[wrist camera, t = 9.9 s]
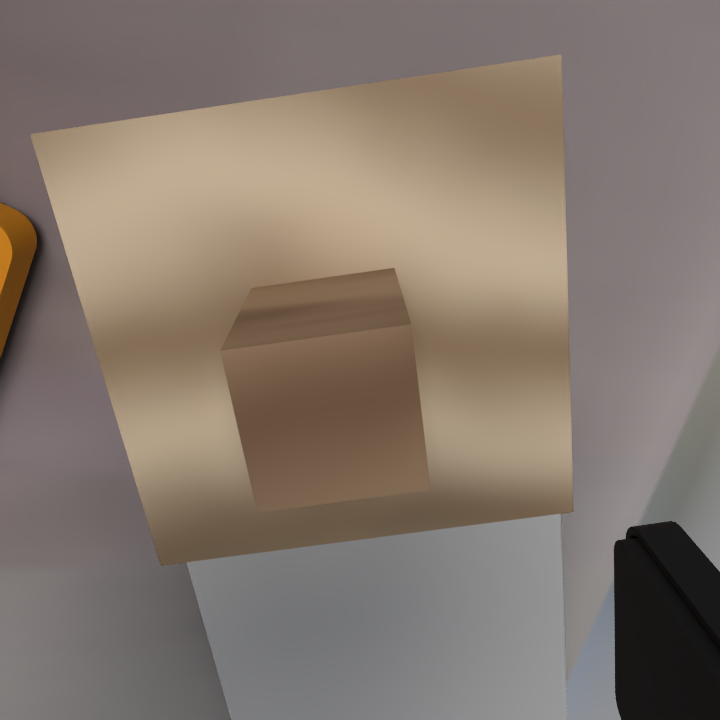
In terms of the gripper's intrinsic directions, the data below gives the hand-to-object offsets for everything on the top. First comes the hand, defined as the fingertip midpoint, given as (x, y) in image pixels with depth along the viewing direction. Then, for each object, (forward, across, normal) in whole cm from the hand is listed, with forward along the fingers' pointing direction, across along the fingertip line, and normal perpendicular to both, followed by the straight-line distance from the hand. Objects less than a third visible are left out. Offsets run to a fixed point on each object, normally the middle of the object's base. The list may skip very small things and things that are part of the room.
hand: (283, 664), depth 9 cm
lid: (+12, -1, -1) cm, 12 cm away
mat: (+18, -1, +16) cm, 24 cm away
